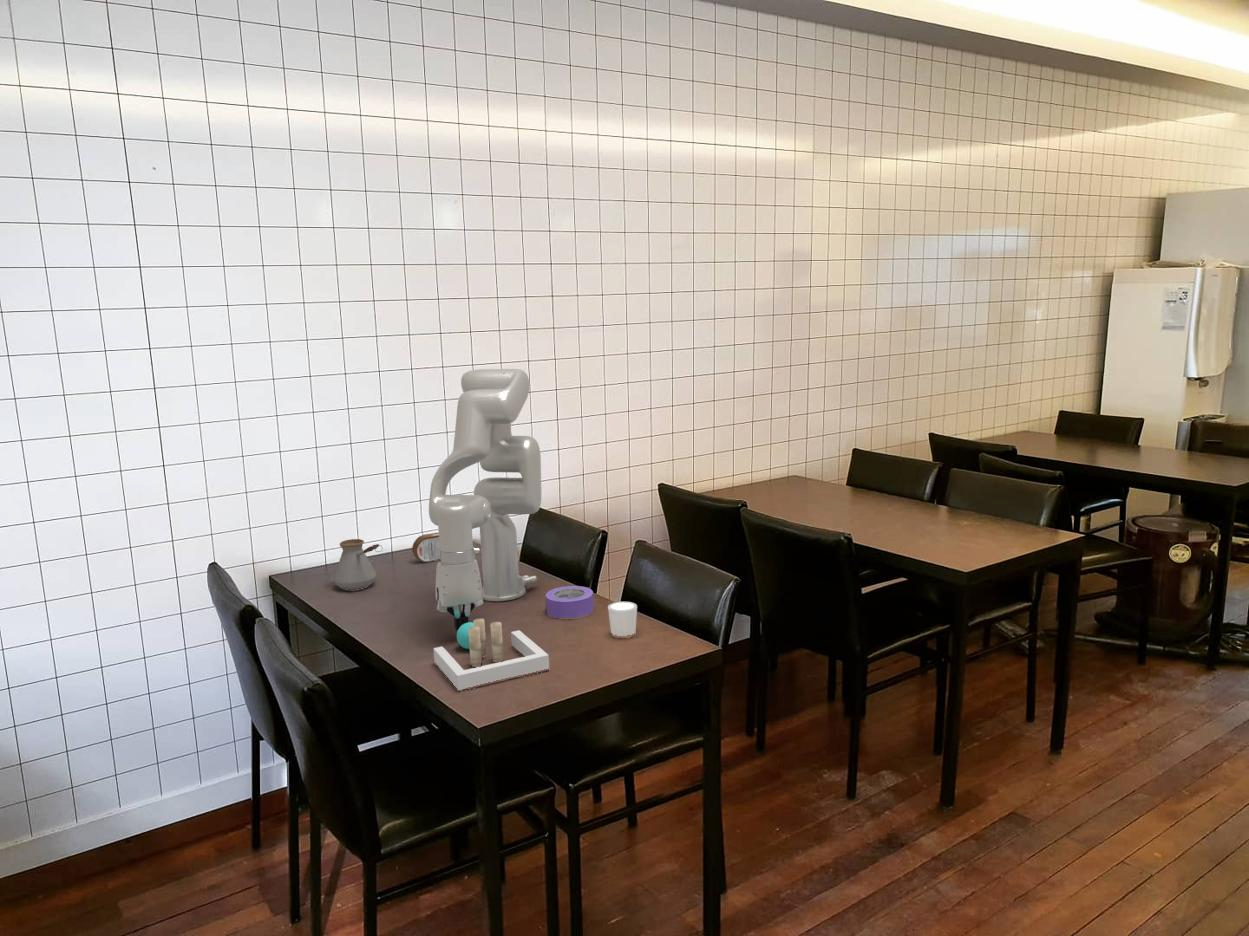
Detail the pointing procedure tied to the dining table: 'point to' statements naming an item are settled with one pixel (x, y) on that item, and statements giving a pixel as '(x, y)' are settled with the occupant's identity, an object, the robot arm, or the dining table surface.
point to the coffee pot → (354, 566)
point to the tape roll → (569, 602)
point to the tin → (427, 547)
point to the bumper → (497, 671)
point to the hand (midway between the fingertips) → (462, 631)
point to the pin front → (481, 635)
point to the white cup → (622, 618)
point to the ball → (464, 635)
